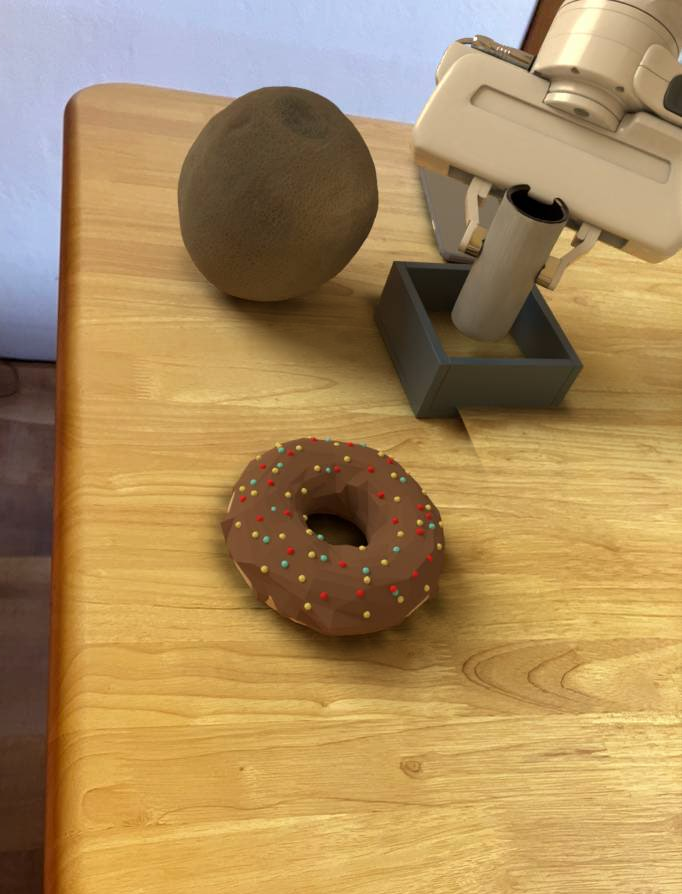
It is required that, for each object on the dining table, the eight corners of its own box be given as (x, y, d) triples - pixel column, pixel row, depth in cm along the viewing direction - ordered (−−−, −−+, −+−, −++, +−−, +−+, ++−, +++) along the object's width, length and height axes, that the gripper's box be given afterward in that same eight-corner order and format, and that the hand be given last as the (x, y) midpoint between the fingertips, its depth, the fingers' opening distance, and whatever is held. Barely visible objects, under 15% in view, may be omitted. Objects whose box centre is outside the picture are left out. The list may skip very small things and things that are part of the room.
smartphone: (492, 176, 88) (523, 266, 79) (488, 185, 89) (518, 275, 79) (419, 163, 86) (442, 253, 77) (416, 172, 87) (439, 262, 78)
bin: (499, 319, 75) (526, 266, 71) (551, 417, 68) (584, 366, 64) (373, 315, 72) (393, 260, 68) (415, 418, 65) (440, 364, 61)
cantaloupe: (194, 349, 65) (227, 158, 53) (150, 232, 72) (171, 43, 61) (366, 340, 69) (431, 163, 58) (308, 232, 77) (356, 56, 65)
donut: (241, 451, 59) (255, 397, 56) (435, 505, 60) (462, 455, 56) (192, 625, 50) (204, 575, 47) (421, 685, 51) (451, 641, 47)
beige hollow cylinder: (447, 332, 65) (503, 208, 57) (453, 297, 68) (508, 175, 60) (505, 351, 66) (569, 231, 58) (509, 316, 68) (571, 196, 60)
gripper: (460, 0, 59) (371, 197, 60) (752, 118, 57) (653, 318, 58) (453, 47, 65) (373, 224, 66) (715, 155, 63) (627, 334, 65)
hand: (506, 269), depth 62 cm, fingers closed on beige hollow cylinder, 4 cm apart
